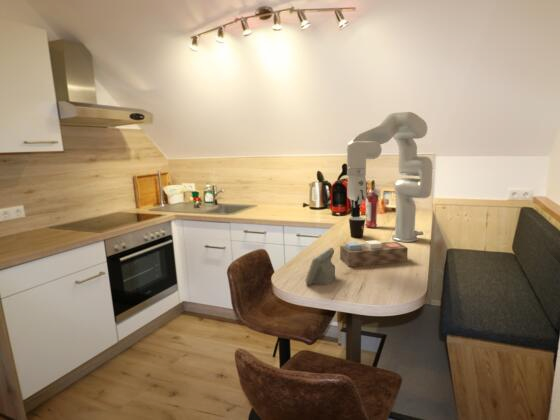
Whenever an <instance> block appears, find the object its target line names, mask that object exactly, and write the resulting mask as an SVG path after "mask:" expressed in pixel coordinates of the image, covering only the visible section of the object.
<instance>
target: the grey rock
mask: <svg viewBox="0 0 560 420" xmlns="http://www.w3.org/2000/svg"><path fill="white" fill-rule="evenodd" d="M334 253H335V250H334V248H333V247H328V248H326V249H325V250H323V251H322V252H320V253H319V254H317V255H316V256H314V257H313V259H312V261H311V264H310V267H309V268H308V269H309V270H308V272H307V274H306V277H305V280H304V281H305V283H306V285H313V284H318V285H327V284H329V283H330V282H331V281H332V280H333V279H334V278H336V266H335V264H333V262H332V258H333V256H334Z"/></svg>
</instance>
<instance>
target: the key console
mask: <svg viewBox="0 0 560 420" xmlns="http://www.w3.org/2000/svg"><path fill="white" fill-rule="evenodd" d="M381 243H382V248H378V249H369V248H367V247H366V246H365V245H366V243H360V244H361V250H352V251H349V250H348V249H346V244H345V245H340V247H339V251H340V253H339V259H340V260H341V262H343V263H344V264H345V265H346V266H347V267H357V266H369V265H372V266H373V265H382V264H394V263H395V264H396V263H406V262H408V249H409V247H407V246H405V245H403V244H401V243H400V242H399V241H387V242H381ZM391 243H396V244H398V245H400V246H401V247H392V248H390V247H388V246H386V245H385V244H391Z"/></svg>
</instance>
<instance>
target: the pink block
mask: <svg viewBox="0 0 560 420" xmlns="http://www.w3.org/2000/svg"><path fill="white" fill-rule="evenodd" d="M385 245H386V246H388V247H390V248H392V247H401V246H400V245H398V244H396V243H391V244H385Z"/></svg>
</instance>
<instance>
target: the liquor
mask: <svg viewBox="0 0 560 420" xmlns="http://www.w3.org/2000/svg"><path fill="white" fill-rule="evenodd" d="M378 204H379V195H378V194H376V193H375V180H374V179H371V180H369V193H367V199H366V200H365V225H364V226H365V227H366V228H367V229H374V228H376V227H378V224H377V216H378V215H377V214H378V206H379V205H378Z"/></svg>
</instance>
